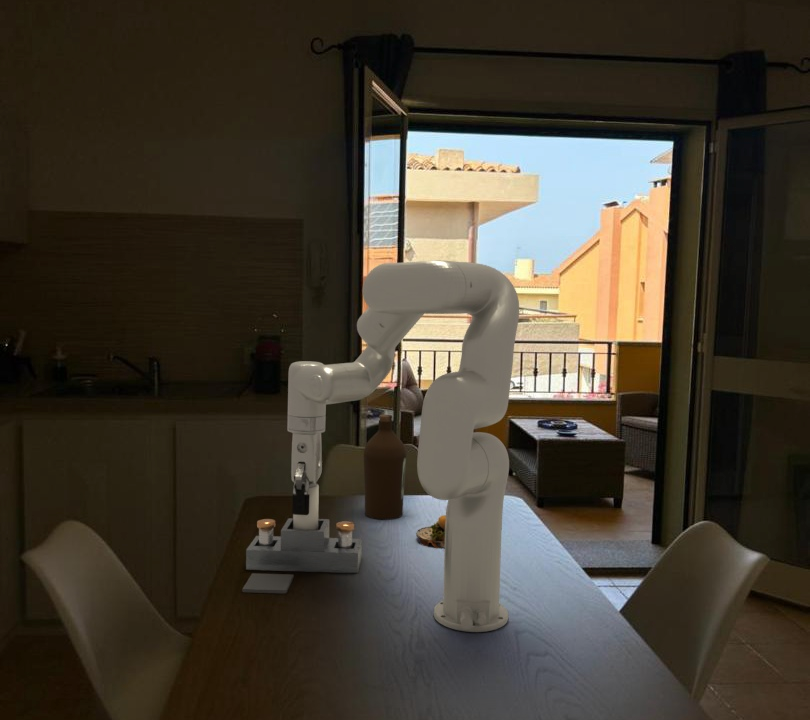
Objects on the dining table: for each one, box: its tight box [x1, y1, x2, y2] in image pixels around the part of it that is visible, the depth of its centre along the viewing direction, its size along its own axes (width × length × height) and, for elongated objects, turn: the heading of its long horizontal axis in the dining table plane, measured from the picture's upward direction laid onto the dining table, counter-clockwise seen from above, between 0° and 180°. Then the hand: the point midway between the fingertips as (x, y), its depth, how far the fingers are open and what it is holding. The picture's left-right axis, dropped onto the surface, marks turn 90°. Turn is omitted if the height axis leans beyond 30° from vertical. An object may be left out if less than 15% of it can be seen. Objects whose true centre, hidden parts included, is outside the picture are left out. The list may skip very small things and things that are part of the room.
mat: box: [241, 572, 295, 595], centre depth 143 cm, size 8×8×1 cm
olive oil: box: [363, 413, 407, 520], centre depth 191 cm, size 11×11×25 cm
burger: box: [415, 514, 446, 549], centre depth 172 cm, size 12×12×8 cm
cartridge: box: [292, 482, 320, 530], centre depth 154 cm, size 5×5×13 cm
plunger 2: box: [335, 520, 355, 549], centre depth 155 cm, size 4×4×8 cm
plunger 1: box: [256, 518, 276, 546], centre depth 155 cm, size 4×4×8 cm
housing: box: [245, 517, 363, 574], centre depth 155 cm, size 22×9×8 cm, turn 89°
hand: (304, 507), depth 154 cm, fingers open, 9 cm apart
